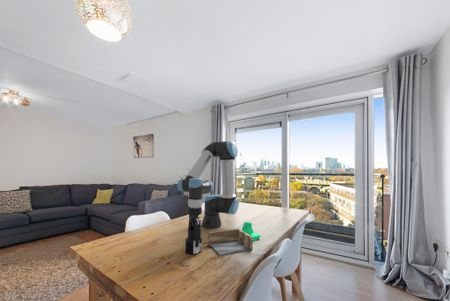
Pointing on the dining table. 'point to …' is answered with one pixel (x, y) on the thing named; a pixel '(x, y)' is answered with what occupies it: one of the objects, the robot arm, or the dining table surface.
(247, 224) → the camera mount
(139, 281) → the dining table surface
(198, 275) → the dining table surface
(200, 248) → the ink bottle
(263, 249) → the dining table surface
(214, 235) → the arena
